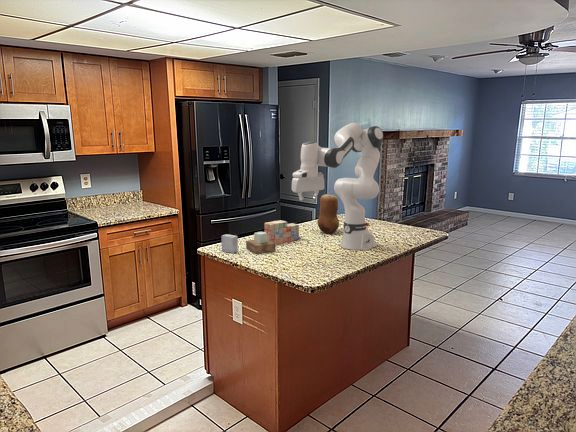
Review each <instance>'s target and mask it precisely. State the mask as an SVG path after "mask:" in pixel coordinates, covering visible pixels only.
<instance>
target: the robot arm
mask: <svg viewBox="0 0 576 432" xmlns="http://www.w3.org/2000/svg"><path fill="white" fill-rule="evenodd" d="M333 138H334V139H333V140H334V144H335V145H336V146H337V147H322V146H320V145H319V144H318V143H317V141H314V140H308V141H304V142H303V143H302V145H301V149H300V162H301V163H300V169H297V170H296V171H294V172H293V173H292V177H293V178H292V180H291V191H292V192H293V193H297V196H298V198H299V201H301V202H302V201H304V200H305V199H304V198H305V197H304V196H303V193H305V192H314V195H312V199H313V200H317V199H318V195H319V193H320V191H324V190H325V178H324V176H325V175H324V174H323V172H319V171H318V170H319V169H318V167H328V168H331V169H332V168H333V169H336V168H337V169H338V167H340V166H341V164H342V162H343V160H344V159H345V157H347V155H348V154H349V153H350V152H351V151H353V152H354V153H361V156H360V158H358V161H357V164H355V167H354V173H355V176H356V178H355V177H342V178H337V180H336V181H335V182H334V184H333V189H334V192H335V194H336V195H337V196H338V197H339V198H340V200H341V202H342V204H343V208H344V221H343V232H342V238H341V241H340V244H341V245H340V247H341V248H343V249H345V250H354V251H368V250H370V249H373V248H375V247H377V245H378V246H379V243H378V242H376V241H375V236H374V234H373V233H372V232H371V231H369V229H368V228H367V227H370V223H369V222H365V220H366V219H365V217H366V210H365V207H364V206H363V205H361V204H360V203H359V202H358V199H359V200H372V199H376V198H377V196H378V194H379V193H380V186H379V183H378V182H377V181H376V180H375V178H374V175H375V173H376V170H377V167H378V165H379V163H380V159H381V153H380V151H379V149H378V148H380V147H381V146H382V142H383V140H384V132H383V130H382V128H380V127H379V126H377V125H373V126H369V127H368V128H365V129H362V126H361V125H360V124H359V123H357V122H350V123H348V124H346V125H344V126H343V127H341V128H340V129H339V130H337V131H336V133H335V134H334V136H333Z"/></svg>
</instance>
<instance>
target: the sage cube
mask: <svg viewBox="0 0 576 432" xmlns="http://www.w3.org/2000/svg"><path fill="white" fill-rule="evenodd" d="M253 235H254V236H253V237H254V239H253V240H254V242H256V243H259V244H261V243H266V242H267V233H265V232H264V231H257V232H254V233H253Z"/></svg>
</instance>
